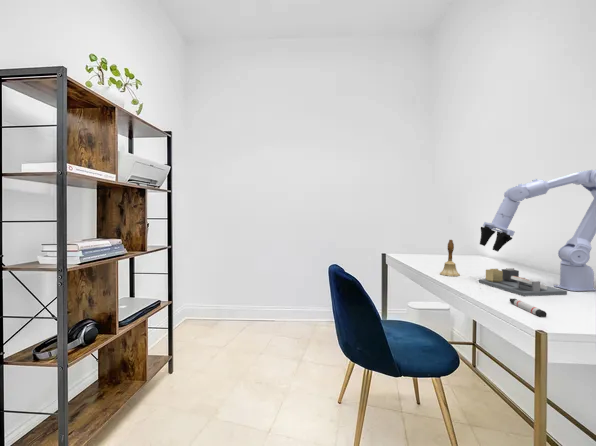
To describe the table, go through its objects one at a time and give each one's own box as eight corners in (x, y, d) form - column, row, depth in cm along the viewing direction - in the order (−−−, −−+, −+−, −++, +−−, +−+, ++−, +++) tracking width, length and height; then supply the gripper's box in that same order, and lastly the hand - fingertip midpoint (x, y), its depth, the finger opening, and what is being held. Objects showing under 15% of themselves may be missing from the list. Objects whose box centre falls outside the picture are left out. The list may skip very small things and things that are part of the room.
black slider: (510, 278, 130) (510, 267, 130) (518, 280, 126) (518, 269, 126) (501, 279, 130) (501, 267, 129) (509, 281, 126) (509, 269, 126)
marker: (546, 318, 87) (546, 310, 87) (538, 318, 87) (539, 310, 87) (512, 302, 102) (512, 296, 102) (506, 302, 102) (506, 296, 102)
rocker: (533, 286, 117) (534, 283, 117) (546, 289, 111) (548, 286, 111) (510, 278, 115) (511, 275, 115) (522, 281, 110) (523, 278, 110)
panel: (515, 281, 133) (515, 270, 133) (566, 294, 111) (567, 281, 111) (478, 282, 130) (478, 271, 130) (523, 296, 109) (524, 282, 109)
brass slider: (494, 279, 129) (494, 267, 129) (502, 281, 125) (502, 269, 125) (485, 279, 129) (485, 268, 129) (493, 281, 125) (493, 269, 125)
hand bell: (448, 272, 153) (449, 238, 152) (464, 275, 145) (464, 240, 145) (435, 273, 149) (436, 239, 149) (451, 277, 142) (451, 240, 141)
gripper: (483, 209, 133) (468, 239, 135) (509, 216, 118) (492, 249, 121) (497, 215, 134) (482, 245, 136) (525, 222, 120) (508, 255, 122)
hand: (488, 247), depth 128 cm, fingers open, 7 cm apart
